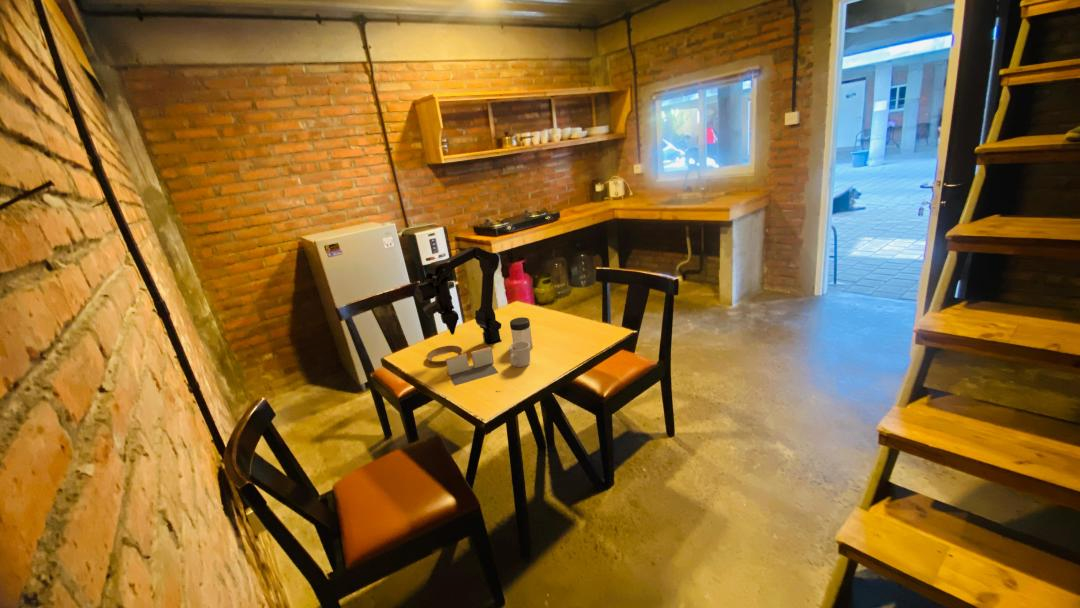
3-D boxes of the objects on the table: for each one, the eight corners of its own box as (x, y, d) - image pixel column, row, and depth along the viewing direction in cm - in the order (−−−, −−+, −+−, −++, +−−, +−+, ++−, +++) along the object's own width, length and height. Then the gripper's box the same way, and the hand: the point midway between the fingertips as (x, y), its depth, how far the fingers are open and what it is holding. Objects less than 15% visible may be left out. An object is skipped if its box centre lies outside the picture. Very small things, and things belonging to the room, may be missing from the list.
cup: (521, 374, 168) (519, 354, 166) (503, 371, 172) (500, 352, 170) (535, 361, 177) (533, 342, 174) (518, 358, 181) (516, 340, 178)
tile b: (468, 368, 177) (465, 353, 175) (469, 370, 175) (466, 354, 173) (448, 374, 174) (445, 358, 172) (449, 375, 173) (446, 360, 170)
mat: (489, 361, 181) (489, 360, 181) (498, 373, 171) (498, 372, 171) (447, 373, 176) (447, 372, 176) (454, 386, 165) (454, 385, 165)
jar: (509, 350, 189) (505, 324, 184) (517, 342, 195) (514, 316, 191) (528, 352, 185) (525, 325, 181) (536, 344, 192) (533, 317, 188)
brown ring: (426, 355, 194) (425, 349, 193) (461, 348, 197) (460, 342, 196) (428, 370, 180) (427, 364, 180) (465, 362, 184) (464, 356, 183)
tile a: (493, 361, 180) (490, 346, 178) (494, 363, 179) (491, 348, 176) (473, 367, 177) (470, 352, 175) (474, 368, 176) (472, 353, 174)
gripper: (419, 292, 183) (427, 327, 188) (425, 305, 166) (433, 344, 172) (446, 286, 186) (453, 321, 192) (455, 298, 170) (462, 336, 175)
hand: (450, 330), depth 182 cm, fingers open, 9 cm apart
